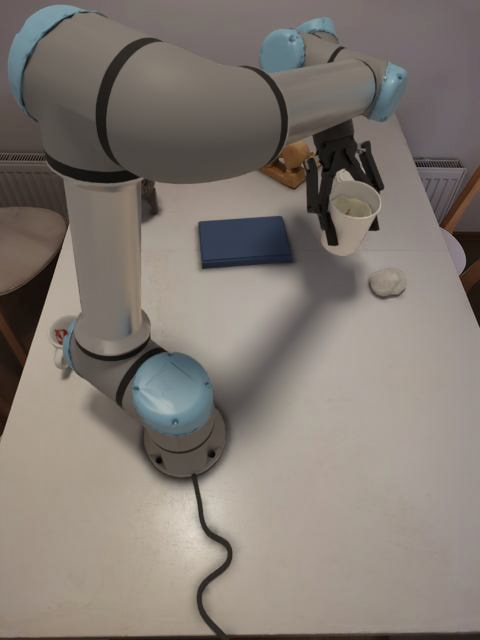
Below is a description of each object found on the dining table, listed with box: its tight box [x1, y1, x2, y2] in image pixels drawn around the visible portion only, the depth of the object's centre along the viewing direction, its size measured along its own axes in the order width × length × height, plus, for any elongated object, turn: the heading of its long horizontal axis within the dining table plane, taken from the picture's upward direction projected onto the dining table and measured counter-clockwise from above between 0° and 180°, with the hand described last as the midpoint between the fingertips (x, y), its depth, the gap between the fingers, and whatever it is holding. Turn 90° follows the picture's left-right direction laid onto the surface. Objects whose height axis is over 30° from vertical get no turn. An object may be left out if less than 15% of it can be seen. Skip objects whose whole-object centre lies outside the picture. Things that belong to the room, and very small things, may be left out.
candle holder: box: [320, 180, 383, 257], centre depth 86 cm, size 10×10×12 cm
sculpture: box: [257, 139, 311, 189], centre depth 119 cm, size 6×17×15 cm, turn 50°
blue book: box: [197, 215, 293, 270], centre depth 108 cm, size 14×22×2 cm, turn 97°
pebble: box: [368, 267, 408, 297], centre depth 100 cm, size 9×8×5 cm
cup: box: [46, 313, 79, 371], centre depth 88 cm, size 11×8×8 cm
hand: (353, 237), depth 86 cm, fingers closed on candle holder, 9 cm apart
